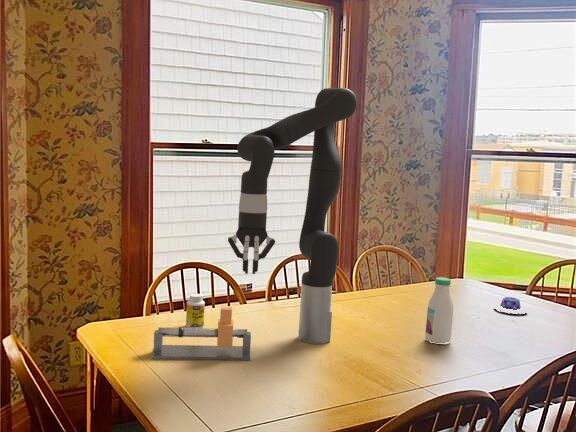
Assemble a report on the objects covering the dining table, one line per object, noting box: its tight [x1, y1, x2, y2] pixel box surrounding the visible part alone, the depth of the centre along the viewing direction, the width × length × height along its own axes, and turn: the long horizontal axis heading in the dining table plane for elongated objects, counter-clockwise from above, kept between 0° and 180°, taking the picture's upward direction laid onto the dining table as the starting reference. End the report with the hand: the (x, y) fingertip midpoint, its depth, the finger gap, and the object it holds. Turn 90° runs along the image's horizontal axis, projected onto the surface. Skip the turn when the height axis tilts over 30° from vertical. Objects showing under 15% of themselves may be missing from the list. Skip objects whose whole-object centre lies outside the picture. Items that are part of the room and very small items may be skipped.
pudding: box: [499, 296, 522, 310], centre depth 231 cm, size 12×12×5 cm
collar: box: [216, 306, 234, 348], centre depth 169 cm, size 4×6×10 cm, turn 6°
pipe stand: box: [151, 326, 252, 361], centre depth 169 cm, size 26×9×7 cm, turn 96°
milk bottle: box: [424, 277, 454, 343], centre depth 190 cm, size 8×8×20 cm
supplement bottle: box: [185, 293, 206, 328], centre depth 192 cm, size 6×6×10 cm
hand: (249, 273), depth 168 cm, fingers closed
